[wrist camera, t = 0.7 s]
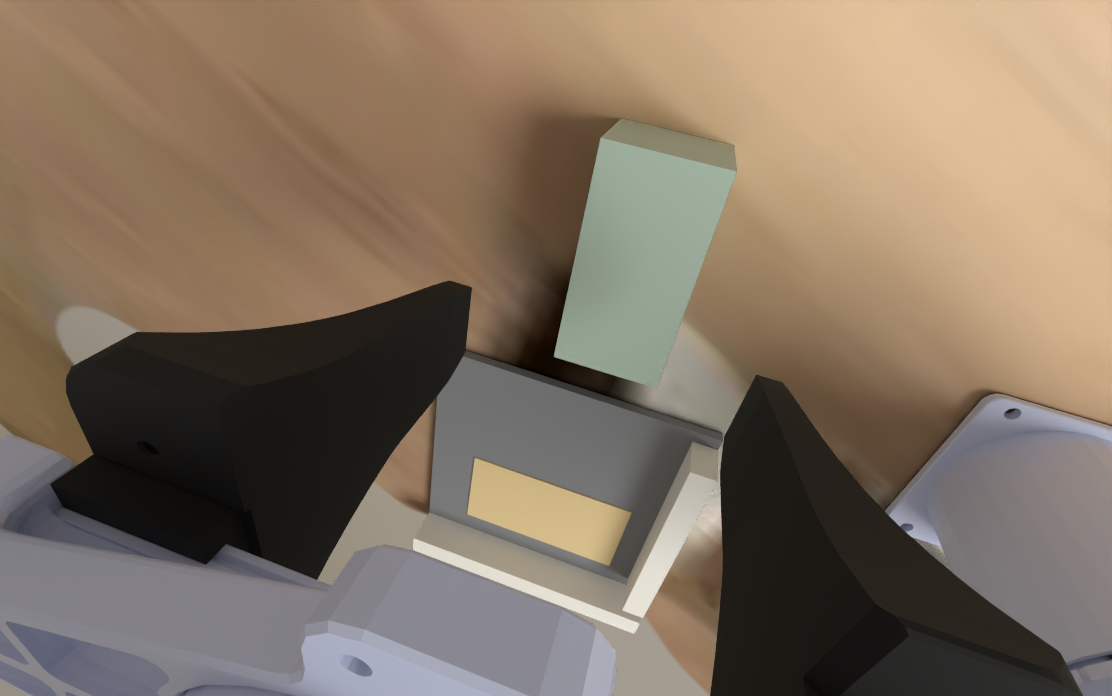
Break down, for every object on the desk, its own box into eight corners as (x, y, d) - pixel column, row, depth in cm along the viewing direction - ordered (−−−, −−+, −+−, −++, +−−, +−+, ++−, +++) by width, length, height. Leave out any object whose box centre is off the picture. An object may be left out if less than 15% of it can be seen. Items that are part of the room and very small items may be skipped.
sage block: (734, 144, 18) (736, 171, 14) (666, 335, 22) (656, 388, 19) (622, 117, 18) (600, 137, 15) (578, 309, 23) (553, 356, 20)
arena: (722, 433, 24) (722, 471, 22) (640, 594, 32) (634, 633, 30) (444, 343, 26) (420, 371, 24) (431, 517, 34) (413, 549, 31)
